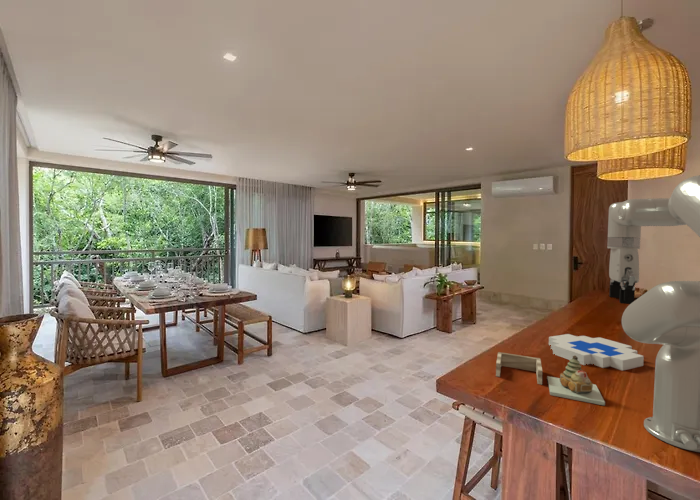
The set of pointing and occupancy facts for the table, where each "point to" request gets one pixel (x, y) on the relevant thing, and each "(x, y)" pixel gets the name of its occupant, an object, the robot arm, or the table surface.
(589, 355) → the pixel art tile
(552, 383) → the tile mat
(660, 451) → the table surface
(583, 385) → the ornament
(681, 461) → the table surface
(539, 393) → the table surface
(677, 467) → the table surface
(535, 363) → the shelf bay
